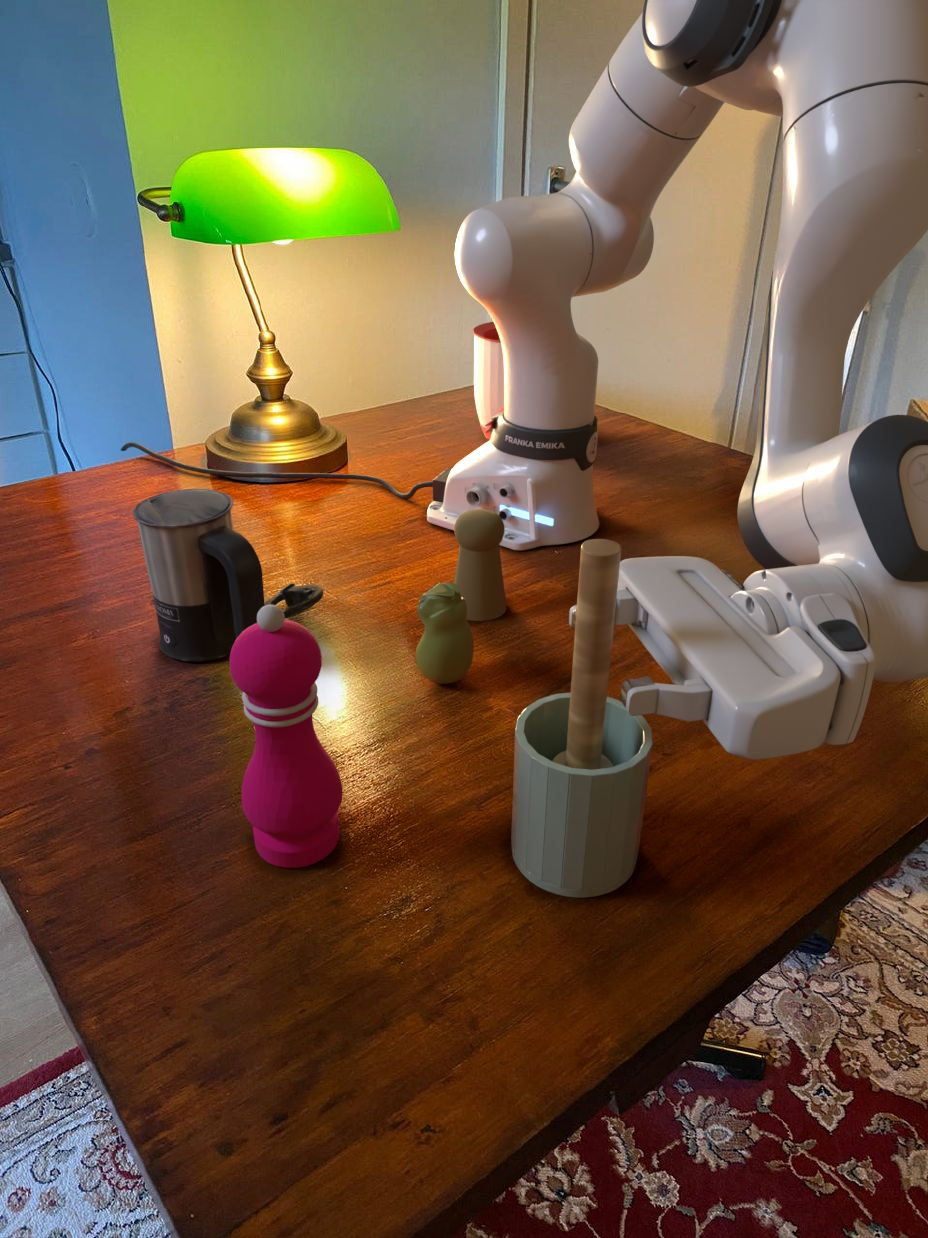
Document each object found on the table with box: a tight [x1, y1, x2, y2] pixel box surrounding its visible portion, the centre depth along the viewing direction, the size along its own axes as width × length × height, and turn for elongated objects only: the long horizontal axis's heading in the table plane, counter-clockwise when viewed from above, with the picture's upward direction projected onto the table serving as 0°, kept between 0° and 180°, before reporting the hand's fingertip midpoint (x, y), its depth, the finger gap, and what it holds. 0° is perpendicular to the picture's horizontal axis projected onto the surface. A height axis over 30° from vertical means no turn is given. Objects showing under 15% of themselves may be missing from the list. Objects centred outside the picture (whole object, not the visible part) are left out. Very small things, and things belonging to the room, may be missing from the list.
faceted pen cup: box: [510, 692, 654, 899], centre depth 64 cm, size 9×9×11 cm
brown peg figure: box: [453, 509, 507, 622], centre depth 96 cm, size 6×6×11 cm
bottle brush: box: [552, 538, 622, 770], centre depth 61 cm, size 4×4×24 cm
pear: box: [414, 582, 475, 685], centre depth 84 cm, size 6×5×10 cm
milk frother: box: [132, 488, 324, 663], centre depth 91 cm, size 14×16×15 cm
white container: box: [472, 321, 504, 441], centre depth 143 cm, size 16×17×20 cm
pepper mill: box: [228, 605, 344, 869], centre depth 63 cm, size 7×7×20 cm
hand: (596, 657), depth 59 cm, fingers open, 8 cm apart
